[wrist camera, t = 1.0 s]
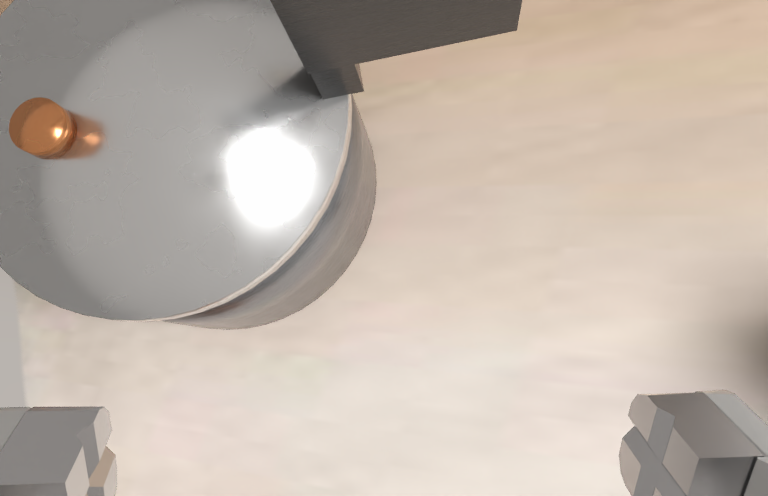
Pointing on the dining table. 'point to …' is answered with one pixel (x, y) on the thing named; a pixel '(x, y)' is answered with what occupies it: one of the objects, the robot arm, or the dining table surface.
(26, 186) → the cooker lid
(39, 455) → the robot arm
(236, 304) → the cooker pot
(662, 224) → the dining table surface
